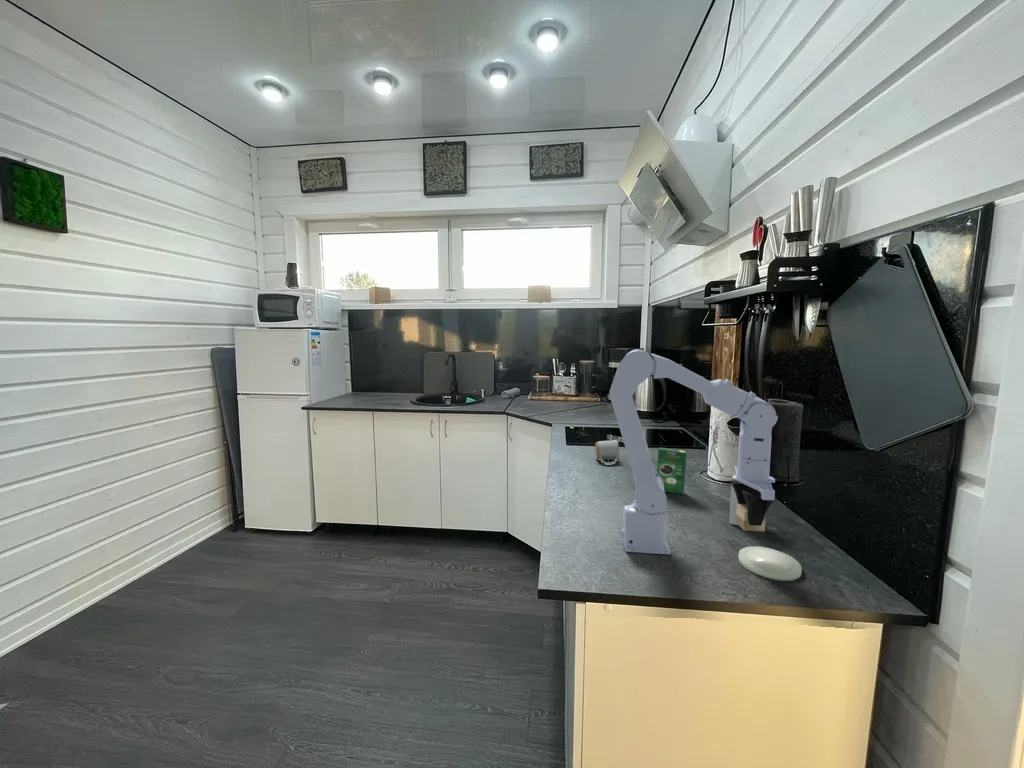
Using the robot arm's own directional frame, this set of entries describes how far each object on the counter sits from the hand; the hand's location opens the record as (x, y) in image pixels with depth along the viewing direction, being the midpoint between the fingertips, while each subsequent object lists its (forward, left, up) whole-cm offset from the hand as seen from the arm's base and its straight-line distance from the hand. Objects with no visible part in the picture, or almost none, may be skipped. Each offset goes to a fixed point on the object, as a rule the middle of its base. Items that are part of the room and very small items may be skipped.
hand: (750, 519), depth 86 cm
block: (0, 0, -2) cm, 2 cm away
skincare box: (+5, +18, -9) cm, 21 cm away
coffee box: (-8, +36, -9) cm, 38 cm away
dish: (+3, -2, -9) cm, 9 cm away
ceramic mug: (-24, +64, -9) cm, 69 cm away
